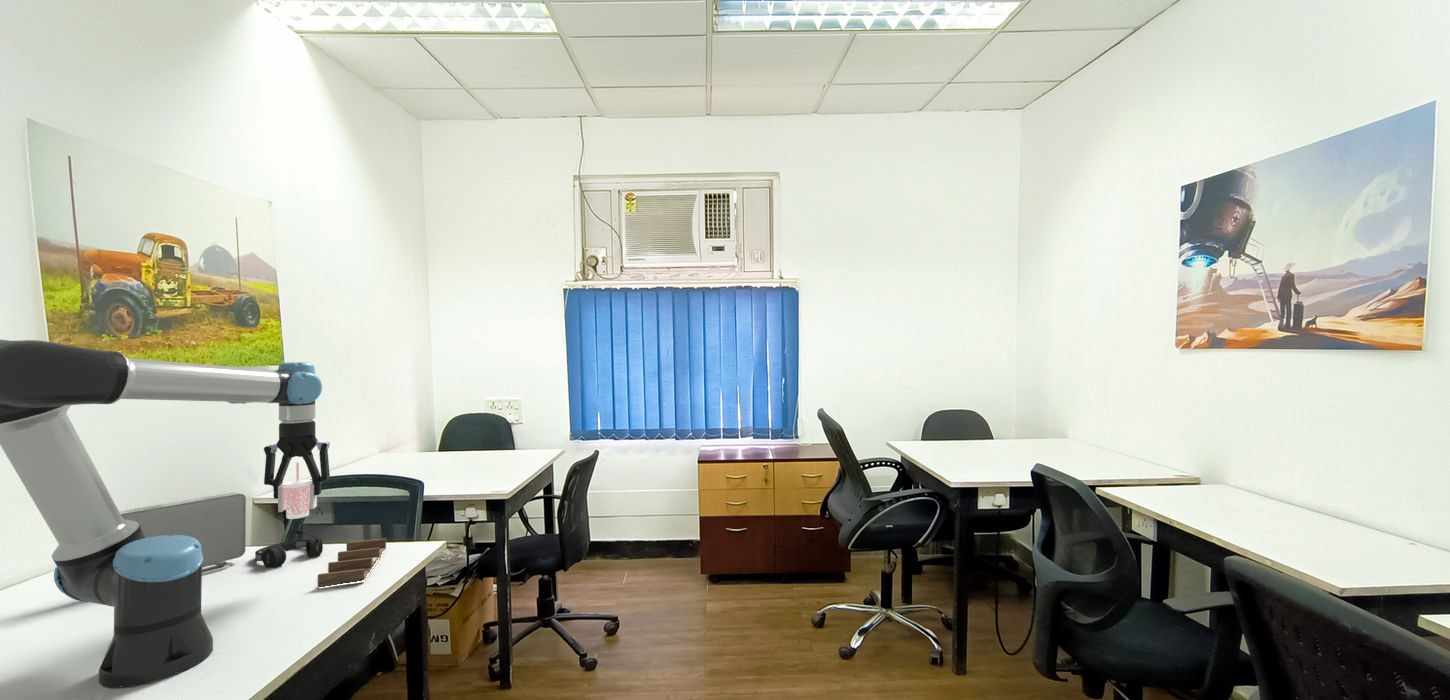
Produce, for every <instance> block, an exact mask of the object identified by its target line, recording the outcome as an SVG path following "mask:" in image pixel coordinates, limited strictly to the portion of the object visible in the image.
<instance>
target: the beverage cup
mask: <svg viewBox="0 0 1450 700" xmlns="http://www.w3.org/2000/svg"><path fill="white" fill-rule="evenodd" d="M295 466H296V467H295V469H296V470H295V471H296V479H294V480H291V481H290V480H289V481H285V482H283V483H282V485H283V488H284V492H285V504H286V509H285V514H286V515H285V517H286V519H288V520H294V519H296V520H297V519H301V518H306V517H308V516H309V515H310V484H311V483H313V480H312V479H304V478H303V479H300V470H299V469H300V468H299V467H300V466H299V462H296V465H295Z"/></svg>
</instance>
